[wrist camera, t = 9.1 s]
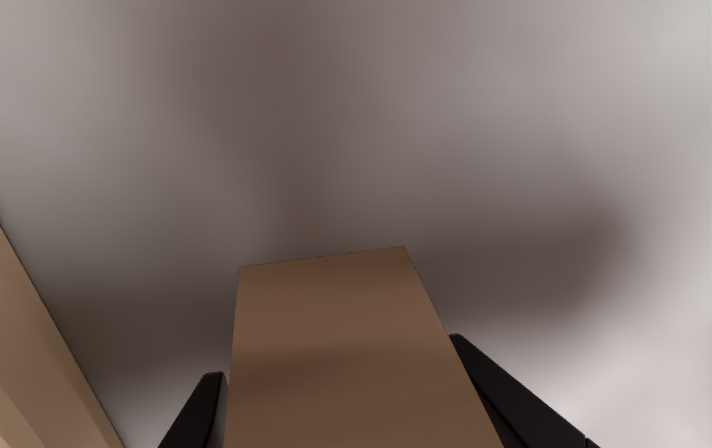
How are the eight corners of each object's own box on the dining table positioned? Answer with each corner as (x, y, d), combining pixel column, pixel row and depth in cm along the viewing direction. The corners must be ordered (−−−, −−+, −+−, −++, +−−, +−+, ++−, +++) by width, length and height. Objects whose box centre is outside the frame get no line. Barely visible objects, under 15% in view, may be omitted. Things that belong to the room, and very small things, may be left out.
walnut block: (398, 355, 12) (488, 616, 7) (263, 378, 12) (260, 677, 7) (403, 245, 10) (533, 507, 5) (239, 266, 10) (210, 581, 5)
